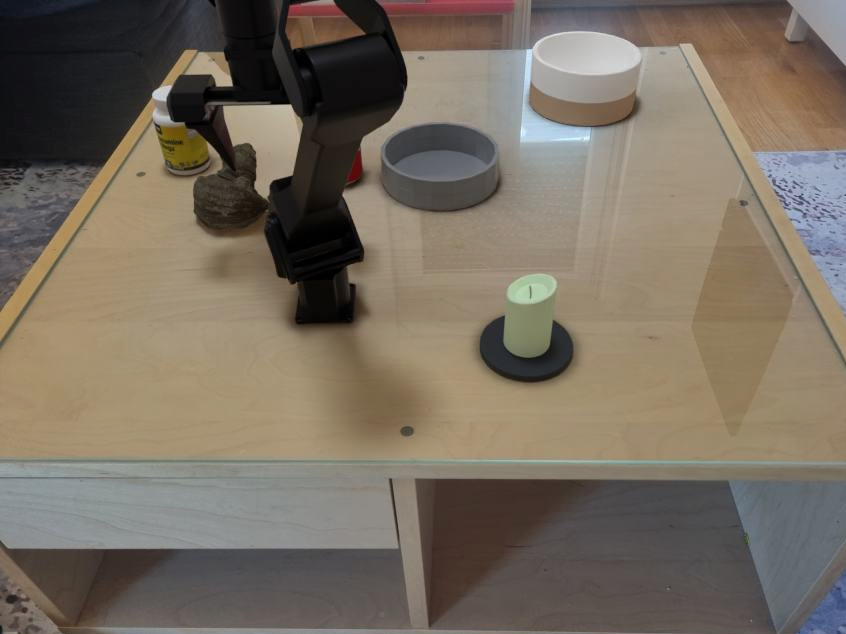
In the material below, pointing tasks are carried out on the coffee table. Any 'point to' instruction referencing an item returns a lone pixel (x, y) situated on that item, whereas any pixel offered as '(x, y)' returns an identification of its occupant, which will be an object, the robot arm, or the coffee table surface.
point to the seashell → (230, 194)
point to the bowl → (584, 78)
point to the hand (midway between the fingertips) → (276, 168)
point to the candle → (529, 315)
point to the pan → (440, 166)
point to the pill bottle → (178, 140)
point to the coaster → (522, 366)
